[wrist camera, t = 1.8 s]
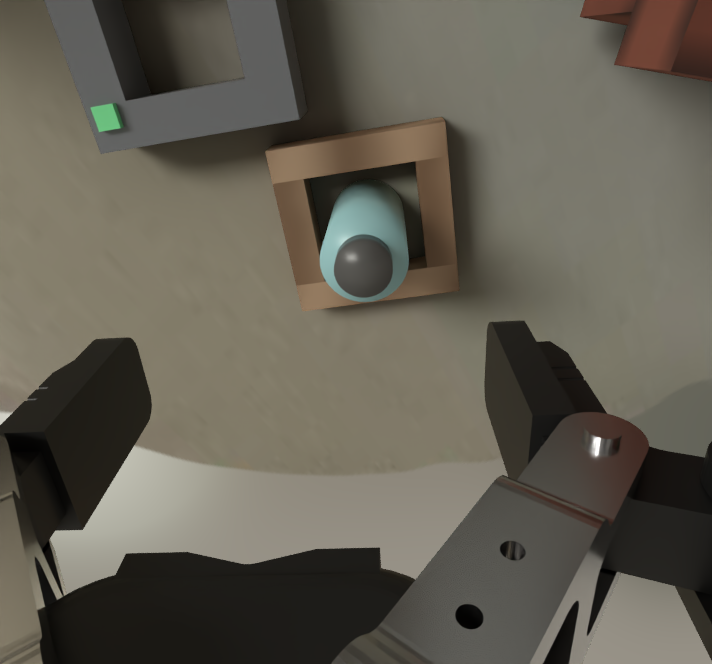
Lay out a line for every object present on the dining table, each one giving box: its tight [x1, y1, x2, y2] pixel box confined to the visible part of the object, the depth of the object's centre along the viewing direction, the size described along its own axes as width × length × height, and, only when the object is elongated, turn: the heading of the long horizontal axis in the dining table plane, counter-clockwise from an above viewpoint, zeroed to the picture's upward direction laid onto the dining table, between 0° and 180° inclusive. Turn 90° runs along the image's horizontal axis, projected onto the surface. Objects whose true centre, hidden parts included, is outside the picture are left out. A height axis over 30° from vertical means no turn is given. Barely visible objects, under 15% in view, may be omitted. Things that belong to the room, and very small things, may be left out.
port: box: [44, 0, 308, 154], centre depth 28 cm, size 11×11×4 cm
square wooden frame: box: [265, 117, 459, 311], centre depth 33 cm, size 10×10×2 cm
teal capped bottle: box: [320, 179, 409, 302], centre depth 30 cm, size 4×4×9 cm
